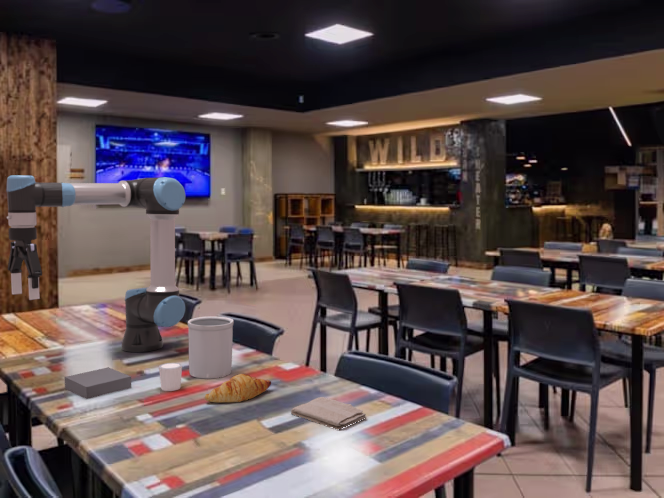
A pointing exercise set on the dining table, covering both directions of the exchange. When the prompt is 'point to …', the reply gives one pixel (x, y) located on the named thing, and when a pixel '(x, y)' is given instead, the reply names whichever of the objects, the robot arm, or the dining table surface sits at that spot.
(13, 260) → the robot arm
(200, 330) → the utensil holder
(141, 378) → the dining table surface
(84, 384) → the block
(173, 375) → the shot glass
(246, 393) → the croissant
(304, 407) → the washcloth
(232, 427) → the dining table surface
